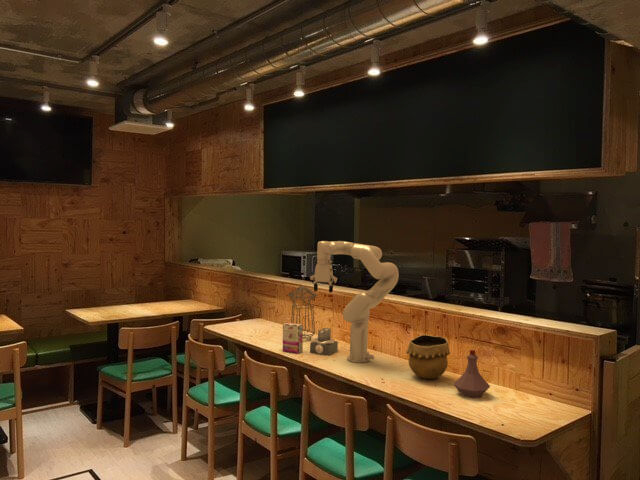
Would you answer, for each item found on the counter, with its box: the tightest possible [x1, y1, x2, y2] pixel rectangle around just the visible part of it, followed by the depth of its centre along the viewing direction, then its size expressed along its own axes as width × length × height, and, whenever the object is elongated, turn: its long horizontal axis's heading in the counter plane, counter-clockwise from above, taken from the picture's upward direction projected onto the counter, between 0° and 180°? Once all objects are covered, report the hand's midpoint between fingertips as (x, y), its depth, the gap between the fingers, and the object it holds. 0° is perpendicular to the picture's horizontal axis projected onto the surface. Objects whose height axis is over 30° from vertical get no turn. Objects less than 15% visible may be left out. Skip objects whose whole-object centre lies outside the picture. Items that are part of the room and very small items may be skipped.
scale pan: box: [313, 337, 335, 344], centre depth 309 cm, size 12×12×1 cm
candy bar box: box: [282, 322, 304, 355], centre depth 308 cm, size 11×5×16 cm, turn 62°
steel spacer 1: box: [317, 329, 327, 342], centre depth 306 cm, size 5×5×6 cm
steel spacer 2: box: [321, 327, 332, 340], centre depth 311 cm, size 5×5×6 cm
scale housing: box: [309, 340, 339, 357], centre depth 309 cm, size 12×12×6 cm
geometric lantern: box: [287, 285, 319, 342], centre depth 338 cm, size 16×16×35 cm
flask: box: [452, 349, 491, 399], centre depth 238 cm, size 16×16×20 cm
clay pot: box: [405, 334, 451, 380], centre depth 262 cm, size 21×21×20 cm
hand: (323, 291), depth 307 cm, fingers open, 9 cm apart
